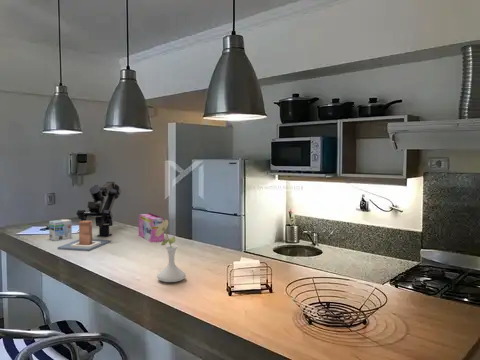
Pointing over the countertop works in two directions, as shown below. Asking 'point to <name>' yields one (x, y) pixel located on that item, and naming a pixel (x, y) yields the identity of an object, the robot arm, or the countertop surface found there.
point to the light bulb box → (60, 229)
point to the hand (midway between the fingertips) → (91, 227)
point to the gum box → (150, 227)
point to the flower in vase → (171, 270)
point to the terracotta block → (85, 233)
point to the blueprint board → (78, 247)
